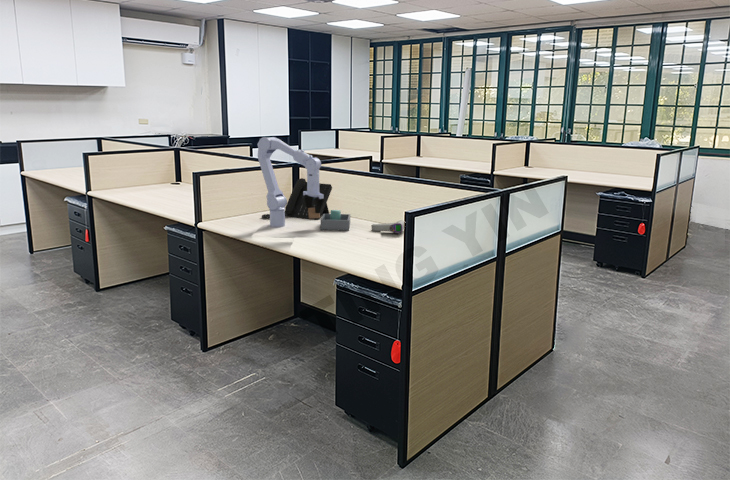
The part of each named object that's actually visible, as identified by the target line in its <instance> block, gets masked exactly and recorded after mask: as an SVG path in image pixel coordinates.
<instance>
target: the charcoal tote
mask: <svg viewBox="0 0 730 480" xmlns="http://www.w3.org/2000/svg"><path fill="white" fill-rule="evenodd" d="M330 215H331V213H329V214H322V215H321V218H320V231H338V232H339V231H343V232H349V231H350V227H351V213H345V214H344V213H341V217H340V220H330Z"/></svg>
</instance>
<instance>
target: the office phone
mask: <svg viewBox="0 0 730 480" xmlns="http://www.w3.org/2000/svg"><path fill="white" fill-rule="evenodd" d="M332 189H333V187H332V184H331V183H330V184H329V183H320V182H319V193H321V194H324V199H325V201H324V202H323V204H322V207H321V211H320V218H312V219H311V220H313V221H318V220H321V218H322V216H323V214H330V211H329V207H328V203H327V202H328V200H329V197H330V195H331V193H332ZM303 191H307V179H306V178H302V177H300V178H298V179H297V180H296V183H295V184H294V187H293V189H292V190H291V193H290V195H289V198H288V199H287V204H286V206H285V209H284V210H285V218H286V217H287V218H298V219H304V220H305V219H306V220H310V219H309V214H308V211H307V210H306V206H305V203H304V200H303V199H302V197H303V196H305V195H303ZM313 198H316V197H313ZM311 208H315V204H314V201H313V200H312V207H311ZM261 219H264V220H270V213H266V214H262V215H261Z"/></svg>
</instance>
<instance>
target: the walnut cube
mask: <svg viewBox="0 0 730 480" xmlns="http://www.w3.org/2000/svg"><path fill="white" fill-rule="evenodd" d="M308 214H309V219H308V220H313V219H312V218H320V213H316V212H315V208H308ZM320 219H321V218H320Z"/></svg>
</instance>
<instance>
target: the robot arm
mask: <svg viewBox="0 0 730 480" xmlns="http://www.w3.org/2000/svg"><path fill="white" fill-rule="evenodd" d="M257 148H258V149H257V159H258V162H259V163H258V164H259V167H260V169H261V172H262V173H261V174H262V176H263V180H264V183H265V185H266V189H267V194H266V205H267V208H268V210H269V214H270V219H269V226H270V227H272V228H282V227H285V226H286V217H285V207H286V205H287V203H288V199H287V197H286V196H285V195H284V192H283V191H282V190H281V189H280V187H279V184H278V181H277V177H276V175H275V172H274V167H273V165H272V161H271V157H272V156H273V155H272V154H274V153H275V151H277V150H279V151H282V152H284V153H285V154H288V155H289V156H291V157H292V158H293V161H295V162H296V163H298V164H300V165H301V166H303V167H305V170H306V182H307V191H303V195H305V196H303V197H302V199H303V200H304V203H305V206H306V210H307V211H308V208H311V207H312V200H313V201H314V204H315V212H316V213H320V211H321V207H322V204H323V202H324V201H325V199H324V194H321V193H319V183H320V168H321V167H322V161H321V160H320V159H319V158H318V157H313V155H312V154H308V153H307V152H305V150H304V149H298V150H297V149H295V148H293V147H292V146H291V145H289V144H287V143H286V142H284V141H282V139H280V138H277V137H276V136H272V137H267V136H265V137H261V138H259V140H258V142H257ZM313 197H316V198H313Z"/></svg>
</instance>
